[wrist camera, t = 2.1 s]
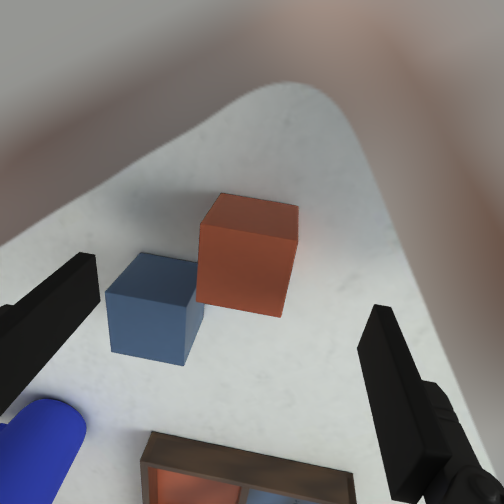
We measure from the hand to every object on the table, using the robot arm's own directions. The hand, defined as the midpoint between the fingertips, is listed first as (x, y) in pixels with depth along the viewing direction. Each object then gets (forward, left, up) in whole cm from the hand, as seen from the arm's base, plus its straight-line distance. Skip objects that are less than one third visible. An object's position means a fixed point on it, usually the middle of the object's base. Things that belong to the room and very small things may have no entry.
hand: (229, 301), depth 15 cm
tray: (-3, +33, -7) cm, 34 cm away
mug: (+19, +25, -8) cm, 33 cm away
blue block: (+5, +5, -7) cm, 11 cm away
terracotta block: (0, 0, -7) cm, 7 cm away
